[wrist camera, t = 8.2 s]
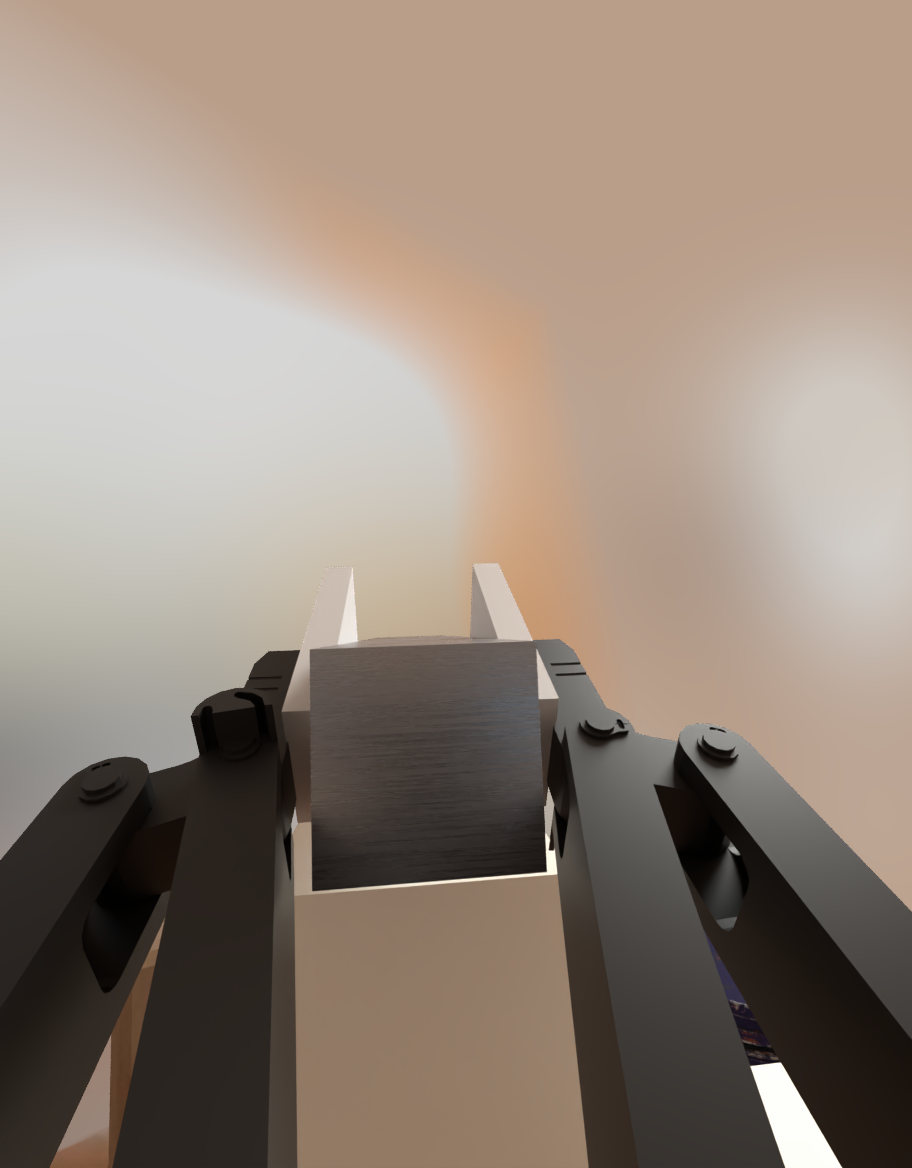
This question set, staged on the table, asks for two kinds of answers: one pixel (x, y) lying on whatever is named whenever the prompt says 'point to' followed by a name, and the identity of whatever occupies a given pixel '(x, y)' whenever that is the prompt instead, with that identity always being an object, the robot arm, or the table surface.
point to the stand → (434, 1024)
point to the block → (128, 1044)
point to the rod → (425, 761)
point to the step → (792, 1120)
